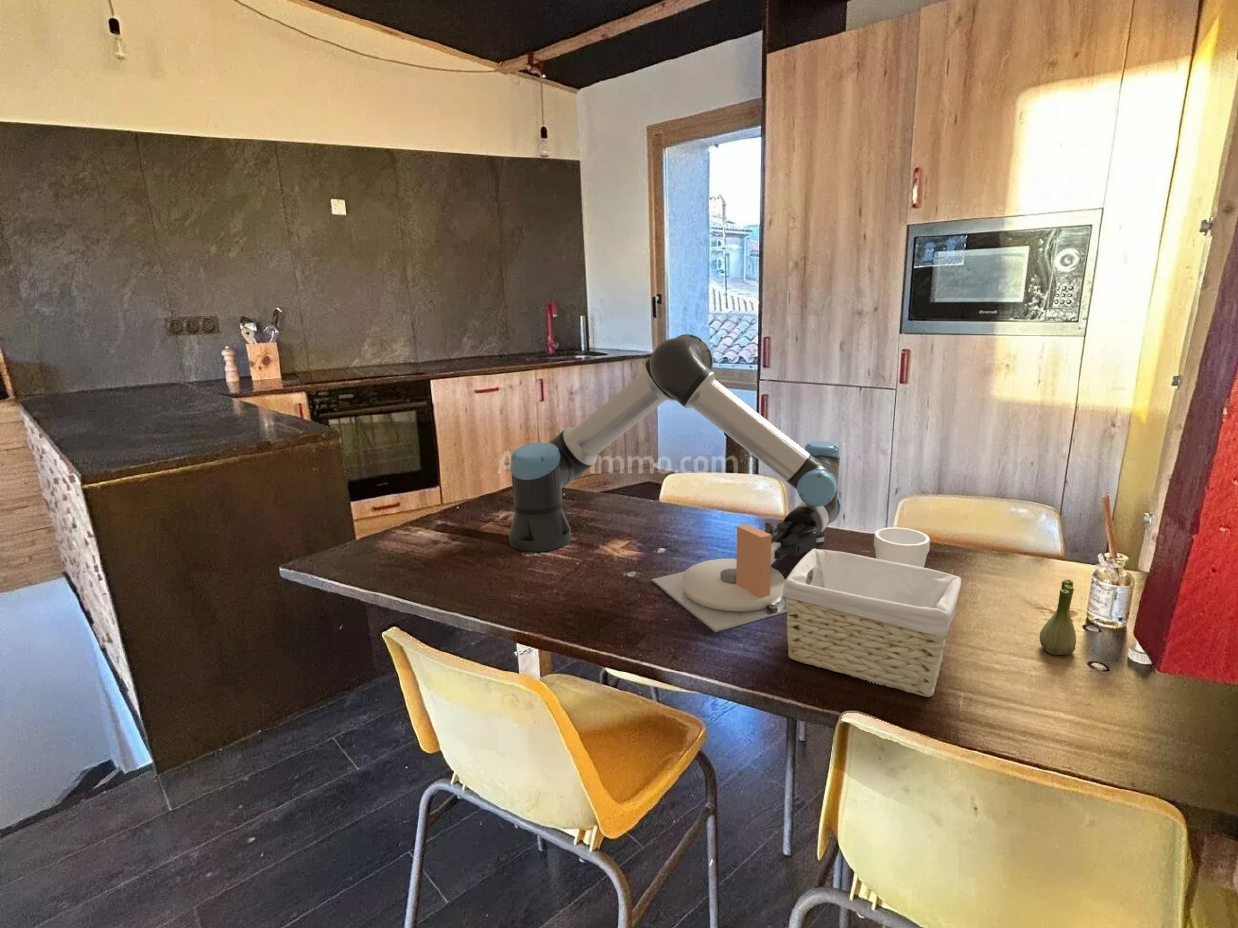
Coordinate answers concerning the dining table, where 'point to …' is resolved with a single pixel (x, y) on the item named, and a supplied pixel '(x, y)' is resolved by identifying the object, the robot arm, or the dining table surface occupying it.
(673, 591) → the base plate
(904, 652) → the storage basket
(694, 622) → the dining table surface
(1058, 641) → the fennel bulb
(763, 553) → the dial
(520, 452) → the robot arm
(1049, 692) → the dining table surface
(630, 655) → the dining table surface
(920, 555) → the foam cup
